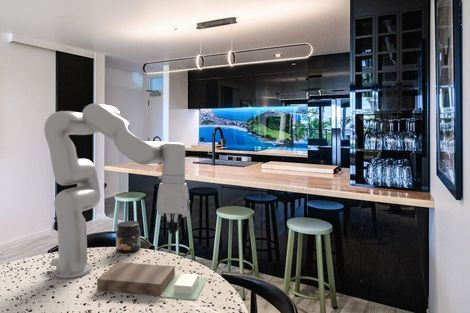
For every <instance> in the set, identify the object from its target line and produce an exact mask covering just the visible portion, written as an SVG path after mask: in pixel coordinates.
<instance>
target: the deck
mask: <svg viewBox="0 0 470 313" xmlns="http://www.w3.org/2000/svg"><path fill="white" fill-rule="evenodd" d="M175 270H176V268H175V266H173V265H172V266H171V265H162V264H161V265H159V264H147V263H146V264H145V263H133V262H120V261H118V262H117V263H115V264H114V265H113V266H112V267H111V268H109V269H108V270H106V272H103V274H102V275H101V276H98V277H97V279H96V288H97V289H96V290H97V291H99V292H108V293H120V294H133V295H142V296H155V297H160V295H161V294H162V293H163V291H164V290H165V289H166V287H167V286H168V285H169V283H170V282H171V281H172V279H173V278H174V276H176V275H175V274H176V271H175Z"/></svg>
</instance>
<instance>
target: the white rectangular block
mask: <svg viewBox="0 0 470 313" xmlns="http://www.w3.org/2000/svg"><path fill="white" fill-rule="evenodd" d="M179 276H180V277H179V279H178V280H177V281H176V283H175V284H174V292H176V293H187V294H192V292H193V290H194V289H195V287H196V285H197V283H198V281H199V278H200V277H199V274H198V273H186V272H185V273H184V272H183V273H181V274H180V275H179Z"/></svg>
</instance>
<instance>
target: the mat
mask: <svg viewBox="0 0 470 313" xmlns="http://www.w3.org/2000/svg"><path fill="white" fill-rule="evenodd" d="M180 276H181V275H175V276H174V278H173V279H172V281H171V282H170V283H169V285H168V286H167V287H166V289H165V290H164V291H163V293H162V294H161V295H160V296H159V297H160V298H168V299H178V300H179V299H180V300H191V301H197V299H198V298H199V295H200V294H201V291H202V289H203V288H204V285H205V284H206V282H207V280H208V278H207V277H199V281H198V283H197V285H196V287H195V289H194V290H193V292H192V294H187V293H176V292H174V284H175V283H176V281H177V280H178V279H179V277H180Z"/></svg>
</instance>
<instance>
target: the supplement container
mask: <svg viewBox="0 0 470 313" xmlns="http://www.w3.org/2000/svg"><path fill="white" fill-rule="evenodd" d="M115 238H116V239H115V240H116V241H115V244H116V245H115V249H116V252H118V253H121V254H132V253H136V252H137V251H139V250H140V249H141V246H142V245H141V228H140V222H139V221H136V220H128V221H127V220H126V221H120V222H119V223H117V224H116V231H115Z"/></svg>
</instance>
